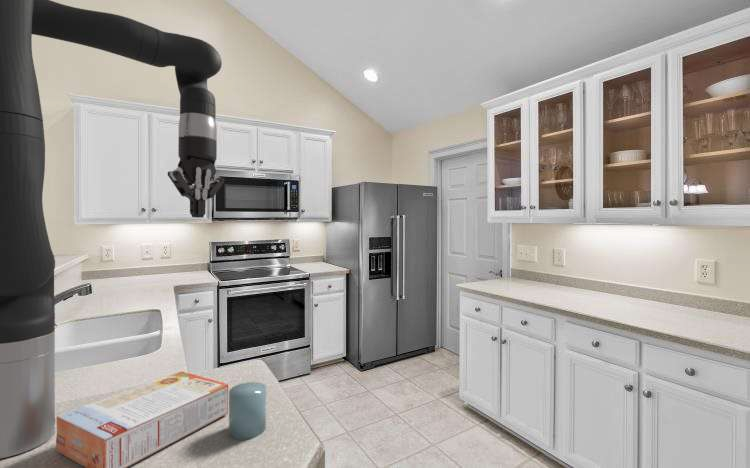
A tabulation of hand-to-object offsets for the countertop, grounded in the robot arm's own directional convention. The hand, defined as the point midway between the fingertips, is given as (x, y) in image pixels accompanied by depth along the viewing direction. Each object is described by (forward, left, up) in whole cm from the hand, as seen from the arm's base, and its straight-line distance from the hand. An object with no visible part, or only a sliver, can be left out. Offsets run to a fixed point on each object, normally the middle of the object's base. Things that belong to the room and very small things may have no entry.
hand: (197, 217), depth 80 cm
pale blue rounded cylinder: (-8, -24, -37) cm, 45 cm away
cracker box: (-6, -10, -34) cm, 36 cm away
